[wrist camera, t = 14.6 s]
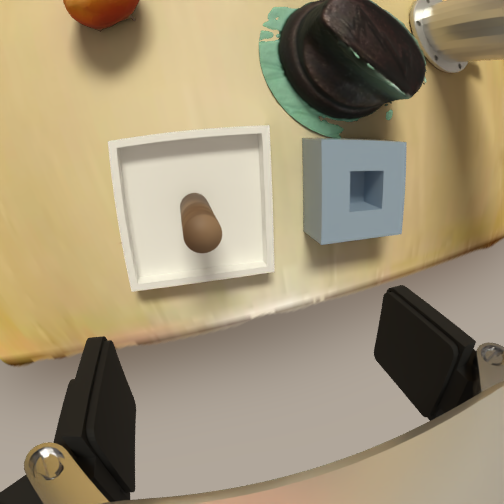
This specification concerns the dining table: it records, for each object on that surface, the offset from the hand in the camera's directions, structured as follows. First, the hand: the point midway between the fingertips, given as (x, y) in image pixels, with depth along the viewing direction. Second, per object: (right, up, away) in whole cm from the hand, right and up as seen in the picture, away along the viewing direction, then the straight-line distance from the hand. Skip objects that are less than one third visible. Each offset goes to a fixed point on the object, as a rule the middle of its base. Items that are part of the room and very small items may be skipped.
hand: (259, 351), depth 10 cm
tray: (-6, +8, +24) cm, 26 cm away
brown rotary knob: (+10, +26, +22) cm, 36 cm away
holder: (+11, +12, +27) cm, 32 cm away
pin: (-6, +8, +23) cm, 26 cm away
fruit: (-15, +30, +14) cm, 36 cm away
